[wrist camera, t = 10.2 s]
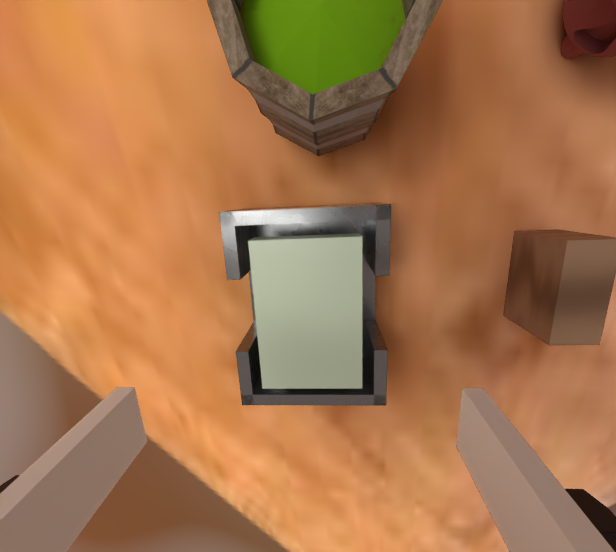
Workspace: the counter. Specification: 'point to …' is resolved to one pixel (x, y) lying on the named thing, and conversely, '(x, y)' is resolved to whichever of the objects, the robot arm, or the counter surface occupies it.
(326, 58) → the mug
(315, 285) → the board
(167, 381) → the counter surface
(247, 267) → the frame
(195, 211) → the counter surface
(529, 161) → the counter surface
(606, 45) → the mechanical component
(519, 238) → the block
